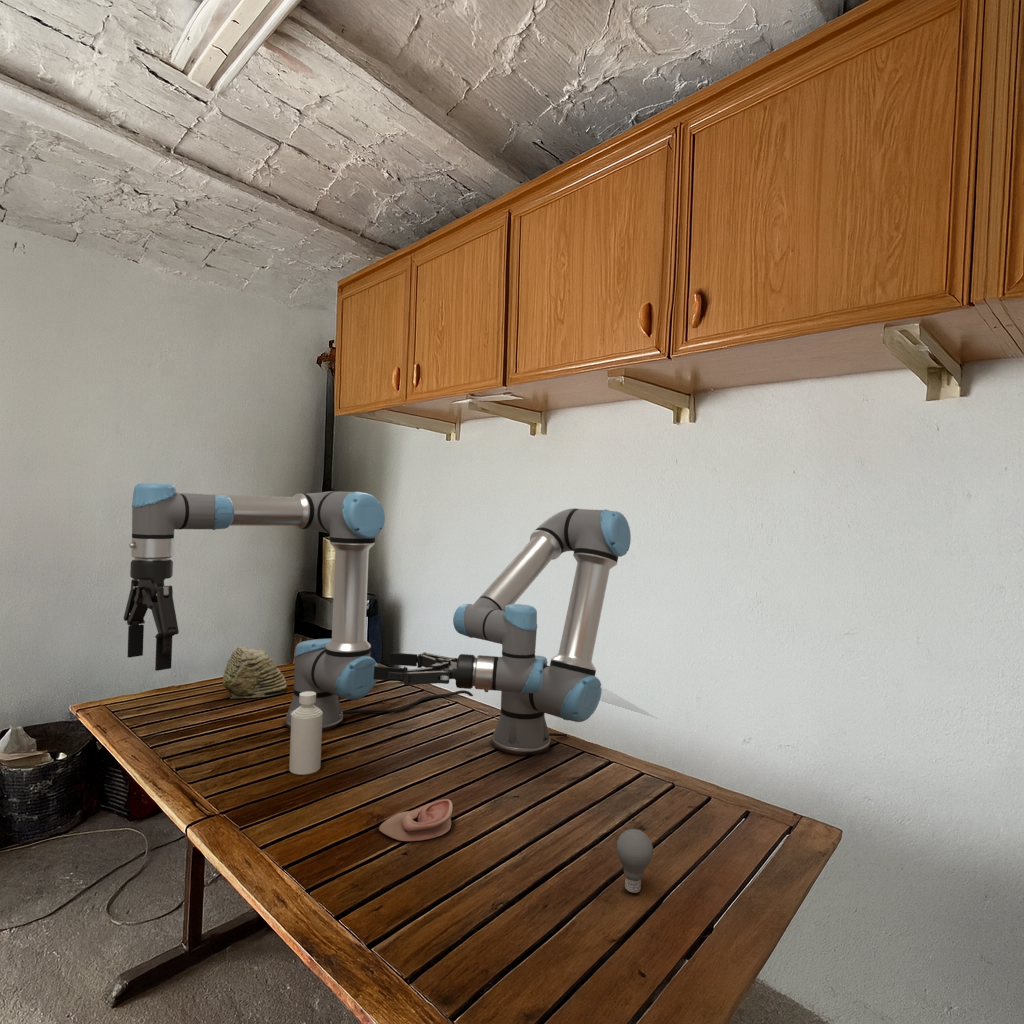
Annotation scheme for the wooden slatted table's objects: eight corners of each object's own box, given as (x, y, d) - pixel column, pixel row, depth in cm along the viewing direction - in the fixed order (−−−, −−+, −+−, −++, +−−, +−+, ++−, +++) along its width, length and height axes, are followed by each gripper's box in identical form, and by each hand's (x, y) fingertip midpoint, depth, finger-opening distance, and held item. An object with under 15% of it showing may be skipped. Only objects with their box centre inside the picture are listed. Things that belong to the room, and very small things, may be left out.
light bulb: (610, 879, 108) (613, 822, 108) (644, 879, 109) (647, 822, 109) (619, 902, 102) (622, 840, 102) (655, 901, 103) (658, 840, 103)
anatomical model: (372, 815, 119) (396, 788, 130) (371, 836, 119) (395, 808, 130) (440, 826, 116) (458, 797, 127) (439, 847, 116) (457, 817, 127)
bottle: (291, 762, 150) (294, 691, 150) (321, 761, 151) (324, 690, 151) (287, 775, 143) (290, 700, 143) (319, 773, 145) (321, 699, 144)
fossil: (218, 695, 195) (220, 647, 195) (278, 685, 208) (279, 640, 207) (228, 703, 189) (230, 653, 188) (289, 692, 201) (290, 645, 201)
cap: (300, 699, 148) (300, 691, 148) (316, 699, 149) (316, 691, 149) (298, 704, 145) (298, 696, 145) (315, 704, 146) (315, 696, 146)
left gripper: (108, 554, 134) (104, 654, 134) (159, 565, 118) (155, 678, 119) (146, 552, 140) (143, 648, 140) (199, 563, 124) (195, 671, 124)
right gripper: (466, 705, 131) (365, 697, 132) (479, 674, 156) (394, 668, 157) (468, 668, 131) (367, 661, 132) (481, 644, 156) (396, 638, 157)
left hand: (148, 662), depth 129 cm, fingers open, 13 cm apart
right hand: (382, 665), depth 145 cm, fingers open, 13 cm apart
